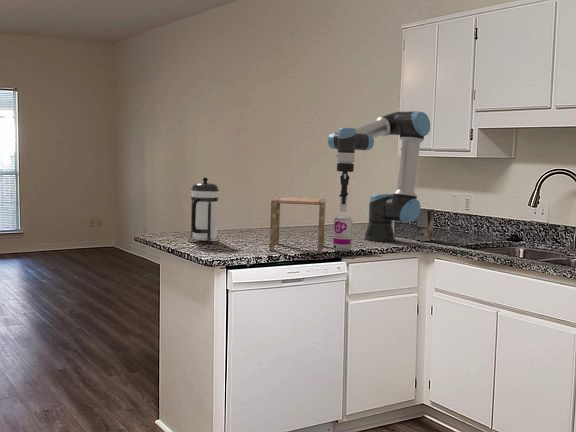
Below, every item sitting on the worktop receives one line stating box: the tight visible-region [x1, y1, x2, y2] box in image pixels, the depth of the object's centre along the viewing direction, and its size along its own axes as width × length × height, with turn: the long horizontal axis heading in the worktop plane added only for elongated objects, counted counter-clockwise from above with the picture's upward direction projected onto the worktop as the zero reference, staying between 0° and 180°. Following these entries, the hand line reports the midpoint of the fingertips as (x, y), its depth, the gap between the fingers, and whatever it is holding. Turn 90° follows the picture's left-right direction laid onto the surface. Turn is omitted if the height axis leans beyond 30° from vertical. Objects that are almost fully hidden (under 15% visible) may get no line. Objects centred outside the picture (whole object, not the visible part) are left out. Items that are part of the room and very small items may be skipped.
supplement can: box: [332, 215, 353, 252], centre depth 309 cm, size 8×8×15 cm
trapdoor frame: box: [269, 196, 326, 254], centre depth 311 cm, size 23×23×22 cm
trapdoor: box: [277, 196, 320, 206], centre depth 310 cm, size 18×18×2 cm
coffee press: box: [187, 176, 220, 245], centre depth 318 cm, size 17×16×30 cm
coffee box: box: [415, 208, 435, 242], centre depth 351 cm, size 9×6×16 cm
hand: (343, 210), depth 308 cm, fingers open, 13 cm apart
